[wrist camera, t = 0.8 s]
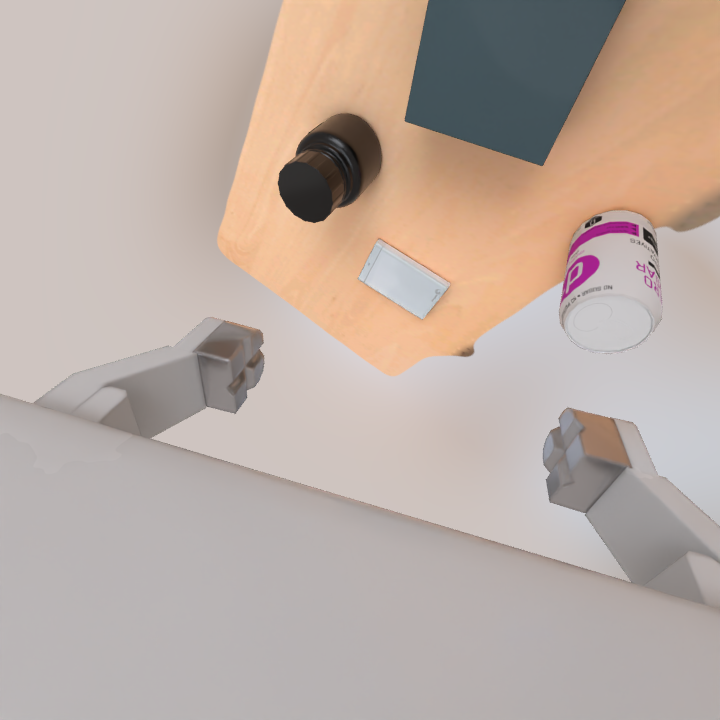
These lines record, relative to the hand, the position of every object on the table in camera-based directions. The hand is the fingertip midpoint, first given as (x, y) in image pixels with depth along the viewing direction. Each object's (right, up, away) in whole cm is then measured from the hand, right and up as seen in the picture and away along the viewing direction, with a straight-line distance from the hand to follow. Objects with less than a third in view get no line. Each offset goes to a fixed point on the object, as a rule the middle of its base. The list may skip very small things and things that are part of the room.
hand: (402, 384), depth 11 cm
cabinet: (+13, +31, +24) cm, 42 cm away
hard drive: (+6, +13, +50) cm, 52 cm away
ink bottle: (-2, +27, +39) cm, 48 cm away
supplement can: (+28, +14, +34) cm, 46 cm away
